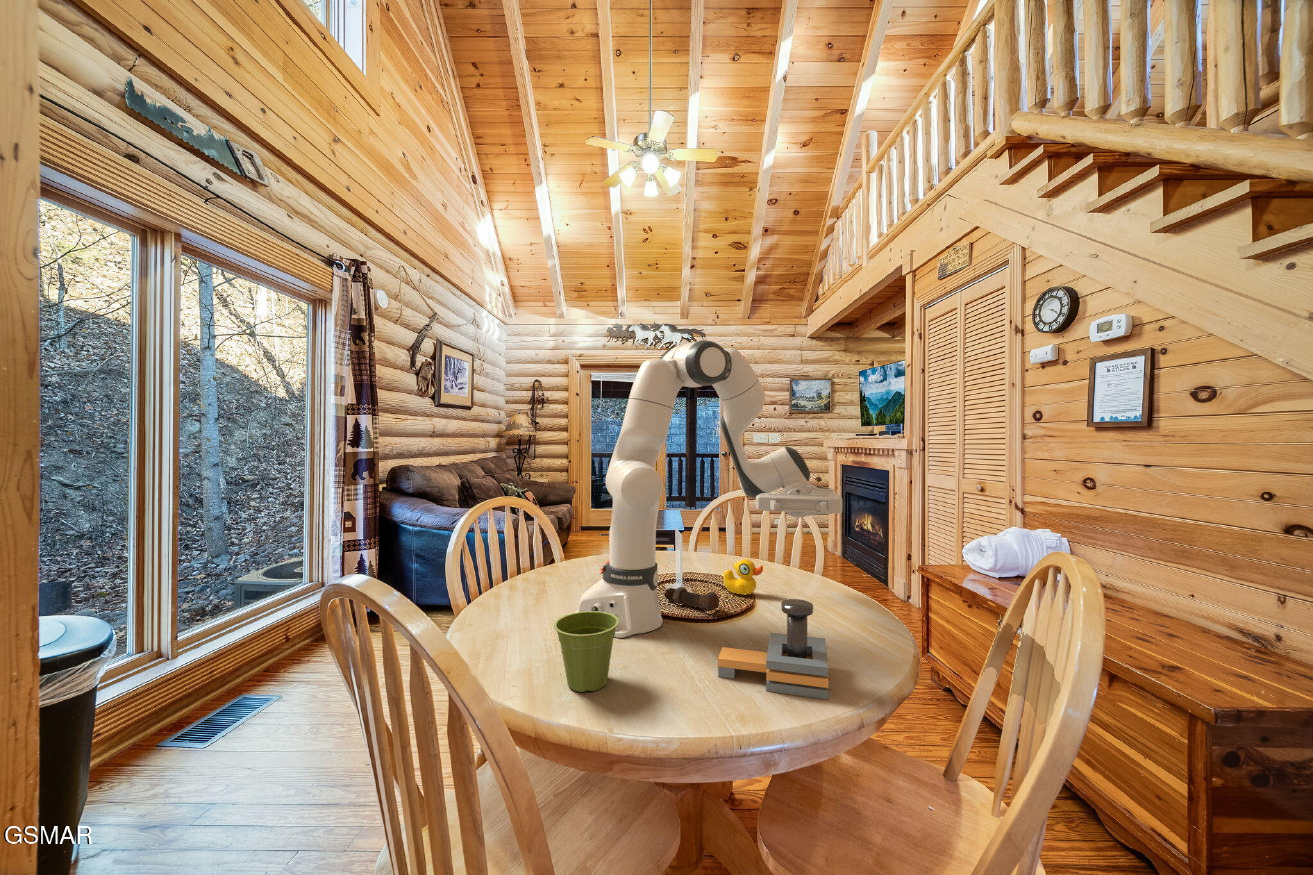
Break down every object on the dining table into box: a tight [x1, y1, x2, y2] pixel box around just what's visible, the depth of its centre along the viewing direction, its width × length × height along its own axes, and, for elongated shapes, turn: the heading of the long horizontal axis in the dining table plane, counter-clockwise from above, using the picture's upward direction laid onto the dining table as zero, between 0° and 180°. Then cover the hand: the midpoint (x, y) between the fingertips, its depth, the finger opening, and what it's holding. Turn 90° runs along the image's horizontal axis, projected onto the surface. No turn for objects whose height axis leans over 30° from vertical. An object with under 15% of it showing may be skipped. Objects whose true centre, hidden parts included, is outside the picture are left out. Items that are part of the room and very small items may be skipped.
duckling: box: [722, 558, 764, 595], centre depth 139 cm, size 11×5×10 cm, turn 61°
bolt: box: [664, 586, 720, 612], centre depth 130 cm, size 6×5×15 cm
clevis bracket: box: [717, 632, 829, 701], centre depth 94 cm, size 19×12×6 cm, turn 74°
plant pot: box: [553, 611, 619, 693], centre depth 92 cm, size 12×12×11 cm
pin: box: [780, 598, 814, 659], centre depth 92 cm, size 6×6×14 cm
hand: (798, 507), depth 115 cm, fingers open, 8 cm apart
